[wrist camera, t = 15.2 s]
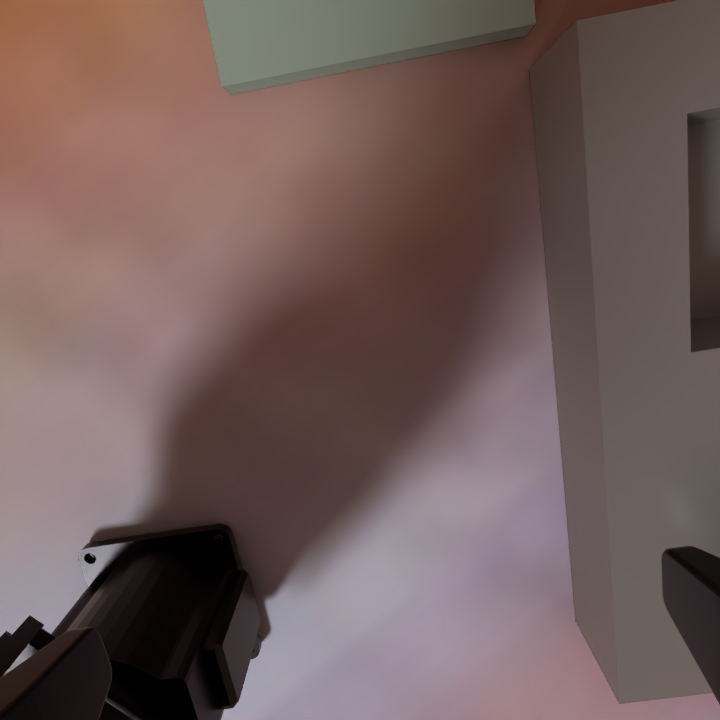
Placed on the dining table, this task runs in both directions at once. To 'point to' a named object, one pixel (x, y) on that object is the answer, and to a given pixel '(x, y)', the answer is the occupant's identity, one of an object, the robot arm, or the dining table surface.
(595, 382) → the housing
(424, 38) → the mat
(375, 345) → the dining table surface
